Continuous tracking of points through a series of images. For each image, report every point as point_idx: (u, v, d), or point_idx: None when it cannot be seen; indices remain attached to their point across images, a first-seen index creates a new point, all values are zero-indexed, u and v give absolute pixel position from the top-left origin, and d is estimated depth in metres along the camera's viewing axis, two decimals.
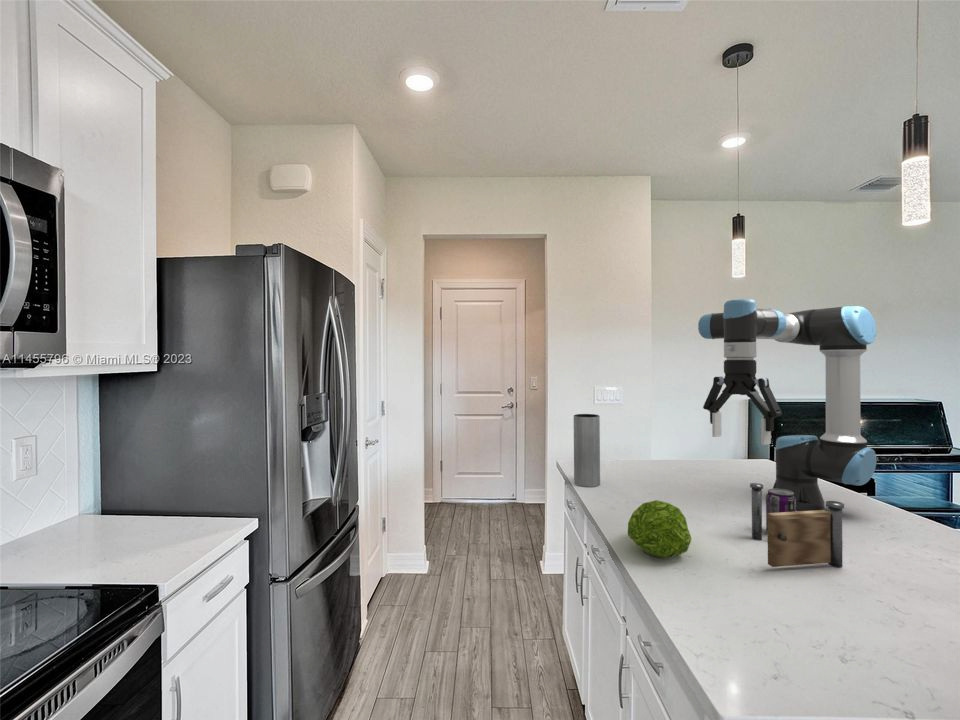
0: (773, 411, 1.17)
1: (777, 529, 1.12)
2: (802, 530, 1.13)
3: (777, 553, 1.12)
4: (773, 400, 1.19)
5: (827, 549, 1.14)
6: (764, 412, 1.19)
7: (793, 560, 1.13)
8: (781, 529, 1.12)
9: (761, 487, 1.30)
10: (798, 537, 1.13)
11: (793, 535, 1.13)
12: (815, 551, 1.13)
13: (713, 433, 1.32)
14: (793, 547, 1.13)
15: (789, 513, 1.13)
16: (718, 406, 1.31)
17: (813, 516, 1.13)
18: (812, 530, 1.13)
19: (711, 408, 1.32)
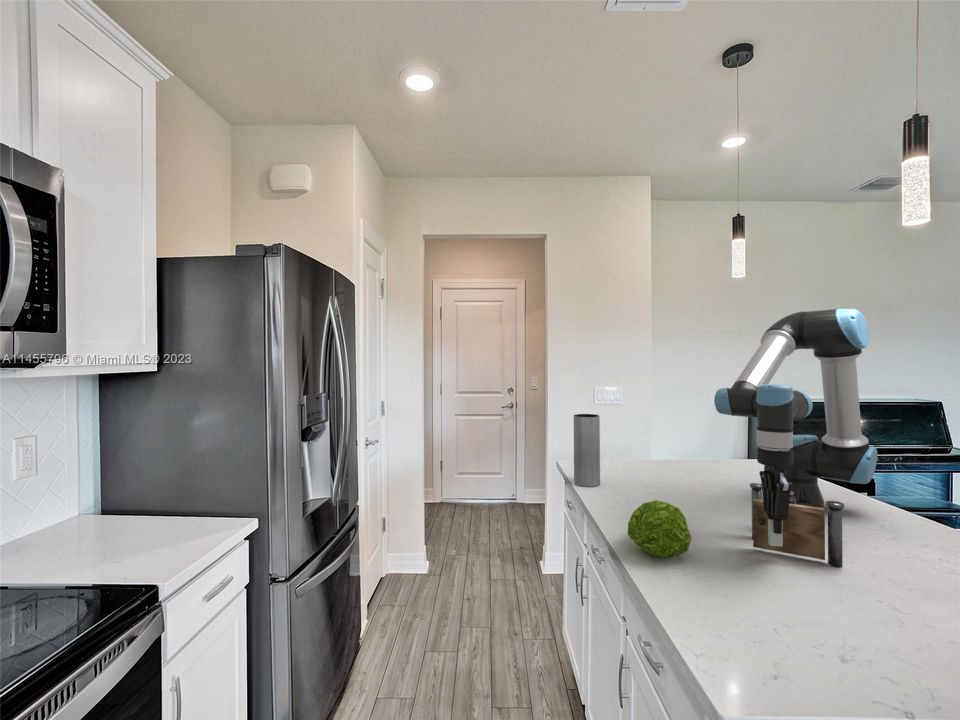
0: None
1: (758, 514, 1.23)
2: (789, 521, 1.19)
3: (758, 536, 1.23)
4: None
5: (821, 546, 1.16)
6: None
7: (777, 546, 1.21)
8: (763, 515, 1.22)
9: (761, 487, 1.30)
10: (784, 526, 1.20)
11: None
12: (804, 544, 1.18)
13: None
14: None
15: None
16: None
17: (802, 510, 1.18)
18: (801, 523, 1.18)
19: None
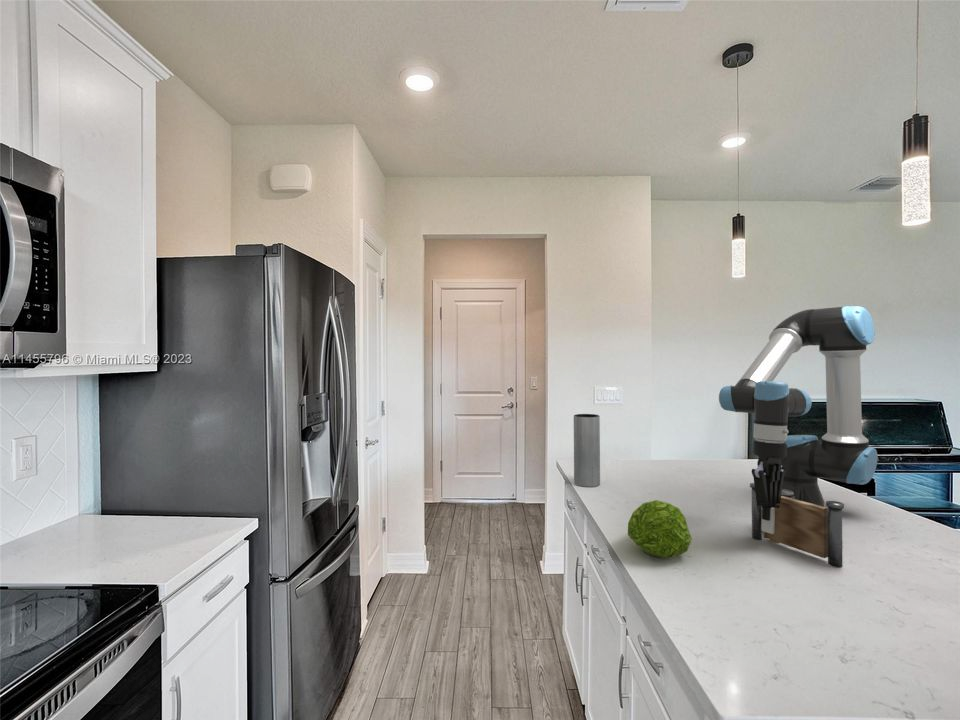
0: (779, 499, 1.25)
1: None
2: (793, 516, 1.23)
3: None
4: None
5: (820, 544, 1.17)
6: (775, 501, 1.24)
7: (783, 539, 1.25)
8: None
9: None
10: (789, 521, 1.24)
11: (783, 517, 1.25)
12: (806, 540, 1.20)
13: (773, 530, 1.23)
14: (783, 528, 1.25)
15: (783, 497, 1.26)
16: None
17: (804, 506, 1.20)
18: (803, 519, 1.21)
19: (770, 504, 1.23)
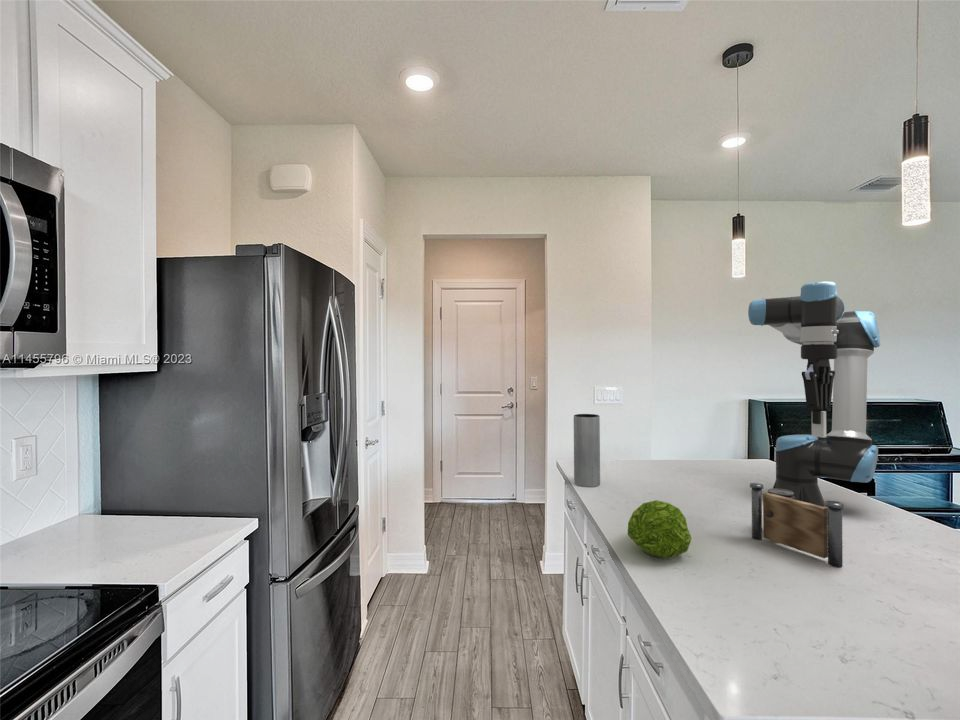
0: (830, 403, 1.23)
1: (767, 507, 1.29)
2: (793, 516, 1.23)
3: (767, 527, 1.29)
4: None
5: (820, 544, 1.17)
6: (826, 404, 1.22)
7: (783, 539, 1.25)
8: (772, 508, 1.28)
9: (761, 487, 1.30)
10: (789, 521, 1.24)
11: (783, 517, 1.25)
12: (806, 540, 1.20)
13: (824, 433, 1.21)
14: (783, 528, 1.25)
15: (783, 497, 1.26)
16: None
17: (804, 506, 1.20)
18: (803, 519, 1.21)
19: (821, 407, 1.21)
